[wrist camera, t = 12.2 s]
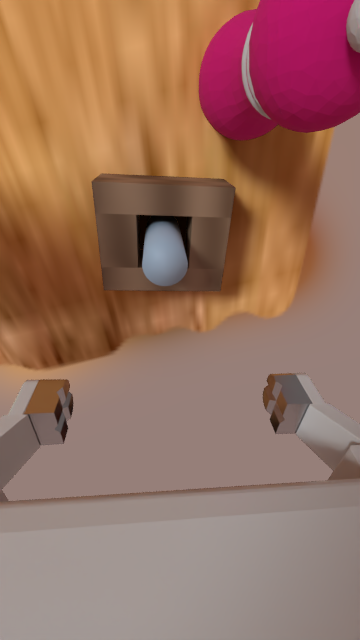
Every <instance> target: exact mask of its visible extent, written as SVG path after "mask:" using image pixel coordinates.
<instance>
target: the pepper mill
mask: <svg viewBox="0 0 360 640" xmlns="http://www.w3.org/2000/svg"><path fill="white" fill-rule="evenodd" d="M199 98H200V104H201V108H202V110H203V113H204V115H205V117H206V118H207V120H208V121H209V122H210V124H211V125H212V126H213V127H214V128H215V130H217V131H218V132H219V133H220V134H222V135H224V136H225V137H227V138H230V139H233V140H249V139H253V138H257V137H259V136H262V135H264V134H266V133H268V132H269V131H271V130H272V129H273V128H275V127H276V126H277V125H280V126H282V127H284V128H287V129H290V130H293V131H297V132H306V133H308V132H315V131H321V130H325V129H328V128H332V127H335V126H337V125H339V124H341V123H343V122H345V121H346V120H348V119H350V118H352V117H353V116H355V115H357V114H358V113H360V0H260V2H259V5H258V8H257V9H254V10H248V11H244V12H242V13H240V14H238V15H236V16H234V17H233V18H232V19H230V20H229V21H228V22H227V23H226V24H224V25H223V26H222V27H221V29H220V30H219V31H218V32H217V33H216V34H215V36H214V37H213V39H212V40H211V42H210V44H209V46H208V48H207V50H206V52H205V55H204V58H203V61H202V64H201V69H200V75H199Z"/></svg>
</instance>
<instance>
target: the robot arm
mask: <svg viewBox="0 0 360 640" xmlns="http://www.w3.org/2000/svg"><path fill="white" fill-rule="evenodd" d="M267 382H268V386H266V387H265V388H264V391H263V403H264V406H265V409H266V411H267V412H269V413H270V414H271V418H270V421H271V424H272V426H273V428H274V431H275V433H276V434H283V433H286V434H287V433H296V435H297V436H298V437H299V438H300V439H301V440H302V441H303V442H304V443H305V444H306V445H307V446H308V447H309V448H310V449H311V450H312V451H313V452H314V453H315V454H316V455H317V456H318V457H320V458H321V459H322V460H323V461H324V462H325V463H326V464H327V465H328V466H329V467H330V468H331V469H332V470H333V473H332V474H331V476H330V477H329V479H328V480H327V481H311V482H296V483H282V484H267V485H266V484H265V485H251V486H235V487H219V488H204V489H188V490H174V491H159V492H145V493H144V492H143V493H130V494H129V493H128V494H113V495H99V496H81V497H66V498H51V499H35V500H20V501H8V499H7V497H6V496H5V494H4V493H3V491H2V489H3V487H4V486H5V485H6V484H7V483H8V482H9V481H10V480H11V479H12V478H13V476H14V475H15V474H16V473H17V472H18V471H19V470H20V469H21V467H22V466H23V465H24V464H25V463H26V462H27V461H28V460H29V459H30V458H31V456H32V455H33V454H34V453H35V452H36V451H37V450H38V449H39V448H40V445H52V444H64V441H65V437H66V434H67V430H68V426H67V421H68V420H69V419H70V418H71V415H72V412H73V396H72V394H71V393H70V392H69V388H70V384H69V381H68V380H26V381H25V382H24V383H23V385H22V387H21V389H20V391H19V393H18V395H17V397H16V400H15V401H14V403H13V405H12V407H11V409H10V411H9V413H8V415H3V416H2V417H0V640H360V423H358V422H357V421H355V420H354V419H352V418H351V417H349V416H348V415H346V414H345V413H343V412H342V411H340V410H339V409H337V408H336V407H334V406H333V405H331V404H330V403H327V404H326V403H325V401H324V400H323V398H322V396H321V395H320V393H319V392H318V390H317V389H316V387H315V386H314V384H313V382H312V381H311V379H310V378H309V376H308V375H307V374H306V373H293V374H291V373H289V374H270V375H269V376H268V378H267Z"/></svg>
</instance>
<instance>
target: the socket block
mask: <svg viewBox="0 0 360 640" xmlns="http://www.w3.org/2000/svg"><path fill="white" fill-rule="evenodd" d="M92 189H93V197H94V206H95V215H96V224H97V233H98V241H99V250H100V259H101V268H102V277H103V286H104V290H138V291H220V290H221V283H222V277H223V270H224V263H225V256H226V249H227V242H228V235H229V228H230V222H231V215H232V208H233V201H234V194H235V187H234V186H232V185H231V184H230V183H228V182H227V181H226V180H224V179H210V178H188V177H166V176H144V175H121V174H100V175H99V176H98V177H97V178H95V179H94V180H93V181H92ZM139 215H161V216H187V220H186V236H185V253H186V257H187V261H188V268H187V272H186V274H185V276H184V277H183V278H182V279H181V280H180V281H179V282H178V283H176V284H174V285H171V286H159V285H156V284H154V283H152V282H151V281H150V280H149V279H148V278H147V277H146V276H145V274H144V272H143V268H142V261H143V251H144V250H140V222H139Z"/></svg>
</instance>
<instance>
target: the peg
mask: <svg viewBox="0 0 360 640" xmlns="http://www.w3.org/2000/svg"><path fill="white" fill-rule="evenodd" d="M142 268H143V272H144V274H145V276H146V277H147V278H148V279H149V280H150V281H151V282H152V283H154V284H156V285H159V286H171V285H174V284H176V283H178V282H179V281H180V280H181V279H182V278H183V277H184V276H185V274H186V272H187V268H188V261H187V257H186V253H185V249H184V245H183V240H182V236H181V232H180V228H179V224H178V221H177V220H176V218H175V217H174V216H161V215H152V216H151V217H150V218H149V219H148V221H147V224H146V231H145V241H144V251H143V261H142Z"/></svg>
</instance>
